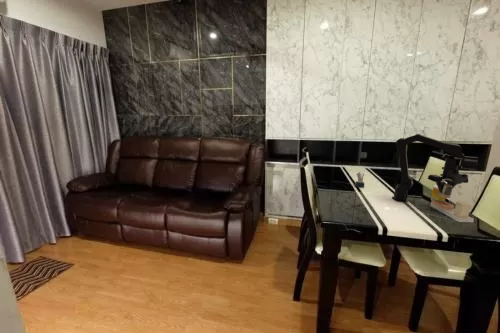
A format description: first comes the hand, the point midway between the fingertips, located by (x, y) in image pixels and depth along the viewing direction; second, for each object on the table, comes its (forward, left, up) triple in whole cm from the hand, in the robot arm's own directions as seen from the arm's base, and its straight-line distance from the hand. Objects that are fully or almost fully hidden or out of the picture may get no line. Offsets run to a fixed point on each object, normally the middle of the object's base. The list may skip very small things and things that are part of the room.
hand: (444, 192), depth 136 cm
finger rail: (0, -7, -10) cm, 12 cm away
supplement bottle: (+7, +12, -10) cm, 17 cm away
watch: (-32, +37, -10) cm, 50 cm away
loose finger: (0, 0, -2) cm, 2 cm away
